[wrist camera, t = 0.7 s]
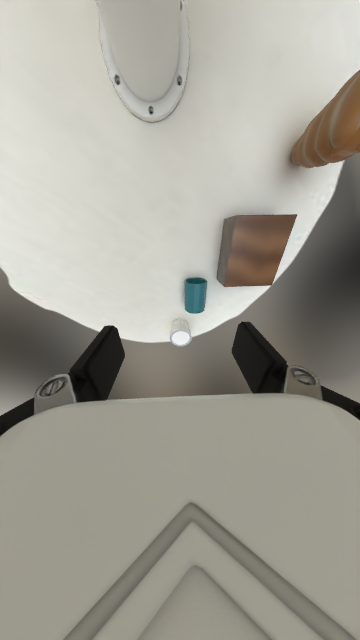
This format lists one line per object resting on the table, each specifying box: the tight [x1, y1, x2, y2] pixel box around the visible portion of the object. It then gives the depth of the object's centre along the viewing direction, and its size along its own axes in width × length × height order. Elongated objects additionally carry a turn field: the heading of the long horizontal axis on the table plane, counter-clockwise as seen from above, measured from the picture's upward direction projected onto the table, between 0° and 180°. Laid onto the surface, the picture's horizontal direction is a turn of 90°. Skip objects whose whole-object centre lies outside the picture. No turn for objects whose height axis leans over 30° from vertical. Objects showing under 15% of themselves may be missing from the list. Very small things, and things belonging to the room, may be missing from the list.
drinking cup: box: [185, 278, 207, 313], centre depth 38 cm, size 8×6×6 cm
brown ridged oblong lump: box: [291, 70, 360, 168], centre depth 19 cm, size 9×8×18 cm
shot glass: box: [170, 319, 192, 346], centre depth 44 cm, size 7×7×7 cm
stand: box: [217, 214, 297, 287], centre depth 32 cm, size 14×12×7 cm
